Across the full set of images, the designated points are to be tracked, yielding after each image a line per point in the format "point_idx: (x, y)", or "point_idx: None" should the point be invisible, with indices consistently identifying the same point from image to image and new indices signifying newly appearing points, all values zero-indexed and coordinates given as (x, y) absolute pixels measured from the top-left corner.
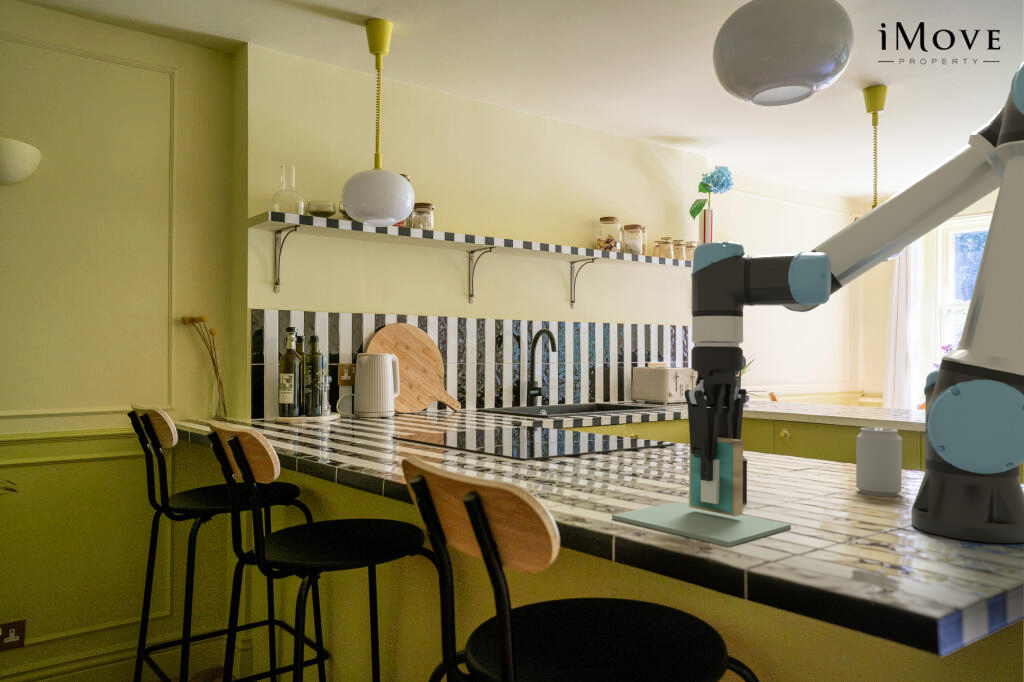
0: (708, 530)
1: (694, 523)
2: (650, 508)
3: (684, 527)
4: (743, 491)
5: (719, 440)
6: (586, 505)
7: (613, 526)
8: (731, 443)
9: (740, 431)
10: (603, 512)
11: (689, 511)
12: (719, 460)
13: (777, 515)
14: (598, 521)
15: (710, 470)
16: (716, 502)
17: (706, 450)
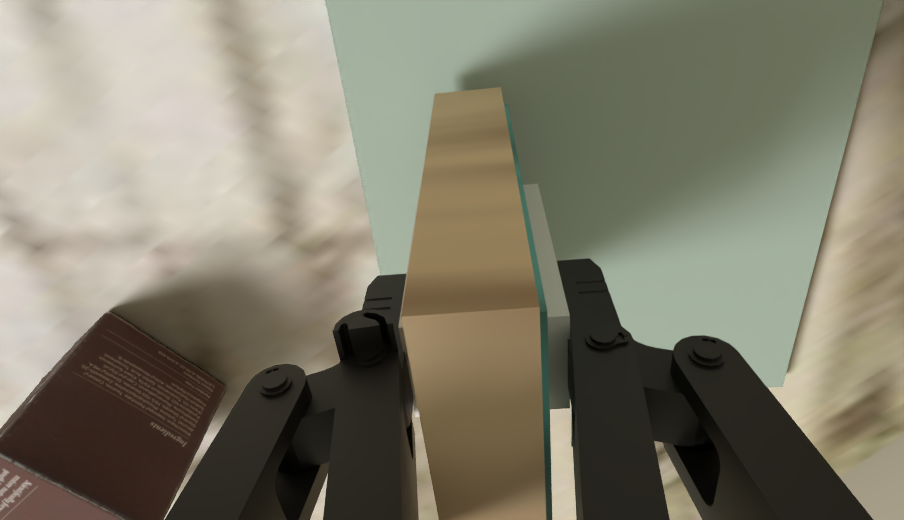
0: (763, 29)
1: (680, 152)
2: None
3: (786, 126)
4: (98, 347)
5: (540, 429)
6: None
7: (879, 309)
8: (545, 321)
9: (192, 497)
10: None
11: None
12: None
13: (142, 104)
14: (841, 375)
15: (589, 294)
16: (538, 186)
17: (720, 365)
